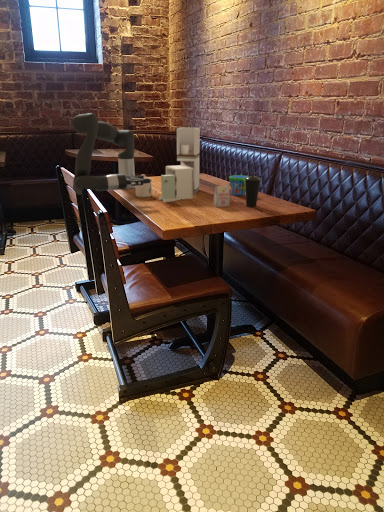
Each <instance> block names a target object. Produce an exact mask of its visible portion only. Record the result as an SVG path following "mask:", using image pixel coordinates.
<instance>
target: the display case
mask: <svg viewBox="0 0 384 512" xmlns="http://www.w3.org/2000/svg"><path fill="white" fill-rule="evenodd" d="M200 130H201V127H177V128H176V161H177V162H180V165H184V166H188V167H191V168H193V194H197V192H198V191H199V190H200V148H201V145H200V144H201V143H200V142H201V138H200V137H201V134H200V133H201V132H200Z"/></svg>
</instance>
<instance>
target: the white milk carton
mask: <svg viewBox="0 0 384 512" xmlns="http://www.w3.org/2000/svg"><path fill="white" fill-rule="evenodd" d="M229 187H230V185H218V186H215V188H214V192H213V206H214V207H215V208H225V207H230V189H229Z"/></svg>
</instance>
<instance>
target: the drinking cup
mask: <svg viewBox="0 0 384 512" xmlns="http://www.w3.org/2000/svg"><path fill="white" fill-rule="evenodd" d="M251 170H252V171H251V175H250V176H248V177H247V178H245V186H246V191H245V204H246V207H247V208H256V207H257V202H258V196H259V189H260V182H261V178H260V177H258V176H255V175H254V174H255V173H254V172H255V165H252V169H251Z"/></svg>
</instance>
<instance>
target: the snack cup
mask: <svg viewBox="0 0 384 512" xmlns="http://www.w3.org/2000/svg"><path fill="white" fill-rule="evenodd" d="M247 177H249V176H248V175H244V174H243V175H241V174H240V175H239V174H235V175H230V176H228V180H229V185H228V186H229V187H230V193H231V195H232V196H245V195H246V186H245V178H247Z"/></svg>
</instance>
